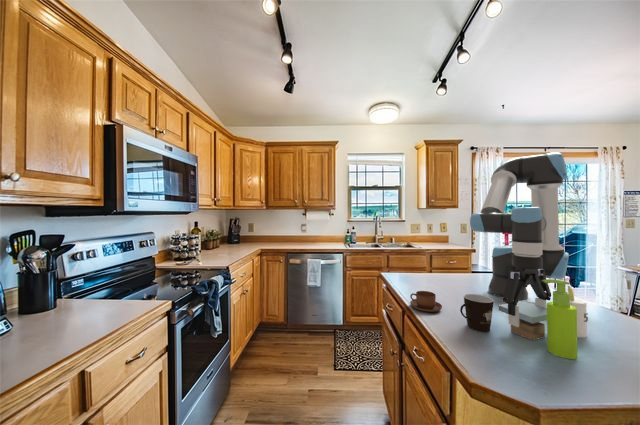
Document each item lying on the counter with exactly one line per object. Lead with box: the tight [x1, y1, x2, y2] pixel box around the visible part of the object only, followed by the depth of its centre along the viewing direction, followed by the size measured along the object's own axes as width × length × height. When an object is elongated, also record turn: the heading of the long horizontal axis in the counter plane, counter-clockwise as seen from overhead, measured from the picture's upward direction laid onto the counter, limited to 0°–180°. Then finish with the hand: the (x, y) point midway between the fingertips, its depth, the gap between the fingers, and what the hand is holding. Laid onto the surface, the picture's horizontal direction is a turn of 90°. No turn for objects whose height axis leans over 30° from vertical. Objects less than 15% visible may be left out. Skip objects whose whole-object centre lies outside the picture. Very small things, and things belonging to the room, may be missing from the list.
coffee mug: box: [459, 293, 495, 333], centre depth 83 cm, size 12×9×10 cm
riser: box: [510, 319, 546, 341], centre depth 78 cm, size 6×6×4 cm
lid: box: [498, 300, 547, 323], centre depth 79 cm, size 12×10×2 cm
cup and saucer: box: [409, 290, 443, 313], centre depth 100 cm, size 12×12×6 cm
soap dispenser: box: [542, 278, 578, 360], centre depth 68 cm, size 6×7×20 cm
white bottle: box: [567, 285, 589, 338], centre depth 79 cm, size 6×6×15 cm
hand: (527, 322), depth 79 cm, fingers closed on lid, 12 cm apart
